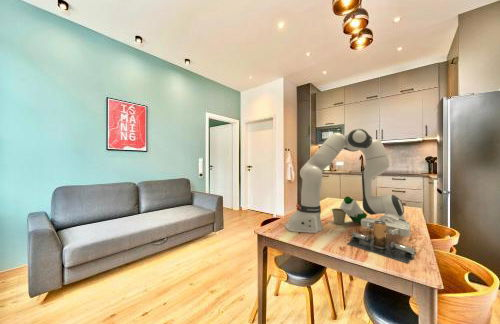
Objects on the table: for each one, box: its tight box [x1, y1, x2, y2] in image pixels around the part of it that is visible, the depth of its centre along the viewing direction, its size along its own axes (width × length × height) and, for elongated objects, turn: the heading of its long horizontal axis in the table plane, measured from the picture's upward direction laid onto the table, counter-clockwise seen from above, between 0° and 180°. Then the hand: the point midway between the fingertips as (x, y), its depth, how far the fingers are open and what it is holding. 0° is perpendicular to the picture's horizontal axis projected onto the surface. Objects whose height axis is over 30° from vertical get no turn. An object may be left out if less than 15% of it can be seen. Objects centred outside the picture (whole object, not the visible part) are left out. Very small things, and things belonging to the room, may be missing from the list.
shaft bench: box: [346, 231, 417, 264], centre depth 93 cm, size 25×14×5 cm, turn 40°
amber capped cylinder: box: [373, 221, 387, 250], centre depth 93 cm, size 5×5×12 cm
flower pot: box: [331, 208, 347, 225], centre depth 131 cm, size 9×9×9 cm
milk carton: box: [339, 196, 368, 225], centre depth 127 cm, size 9×9×20 cm
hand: (379, 230), depth 92 cm, fingers open, 8 cm apart
